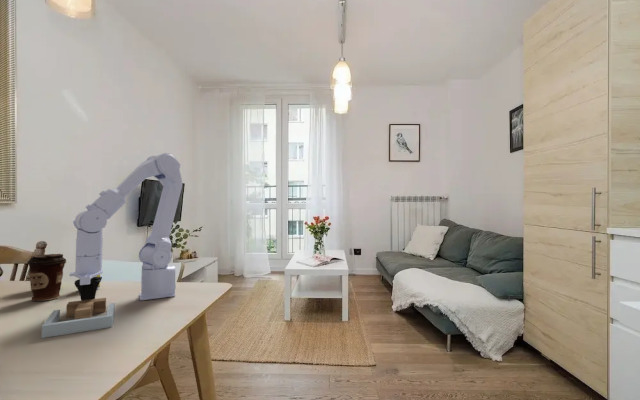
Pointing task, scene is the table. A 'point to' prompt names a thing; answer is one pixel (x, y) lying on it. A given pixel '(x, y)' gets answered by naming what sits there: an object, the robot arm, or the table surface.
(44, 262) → the coffee cup
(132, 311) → the table surface
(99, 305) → the t block
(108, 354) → the table surface
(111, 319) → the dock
